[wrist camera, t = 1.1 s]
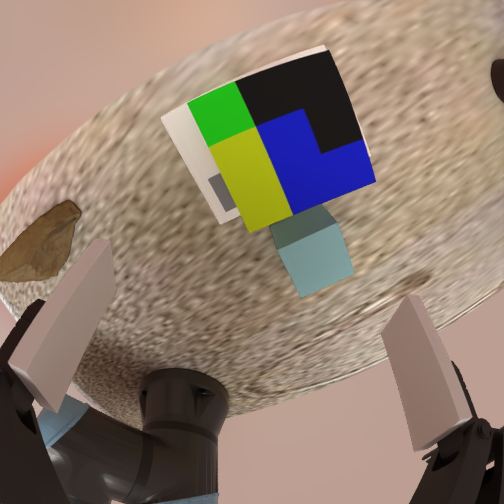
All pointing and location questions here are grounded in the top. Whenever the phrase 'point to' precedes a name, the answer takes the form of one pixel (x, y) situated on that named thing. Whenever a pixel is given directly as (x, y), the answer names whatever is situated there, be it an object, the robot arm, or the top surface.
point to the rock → (41, 246)
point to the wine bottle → (498, 77)
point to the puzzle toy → (284, 139)
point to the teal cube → (312, 249)
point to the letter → (199, 154)
